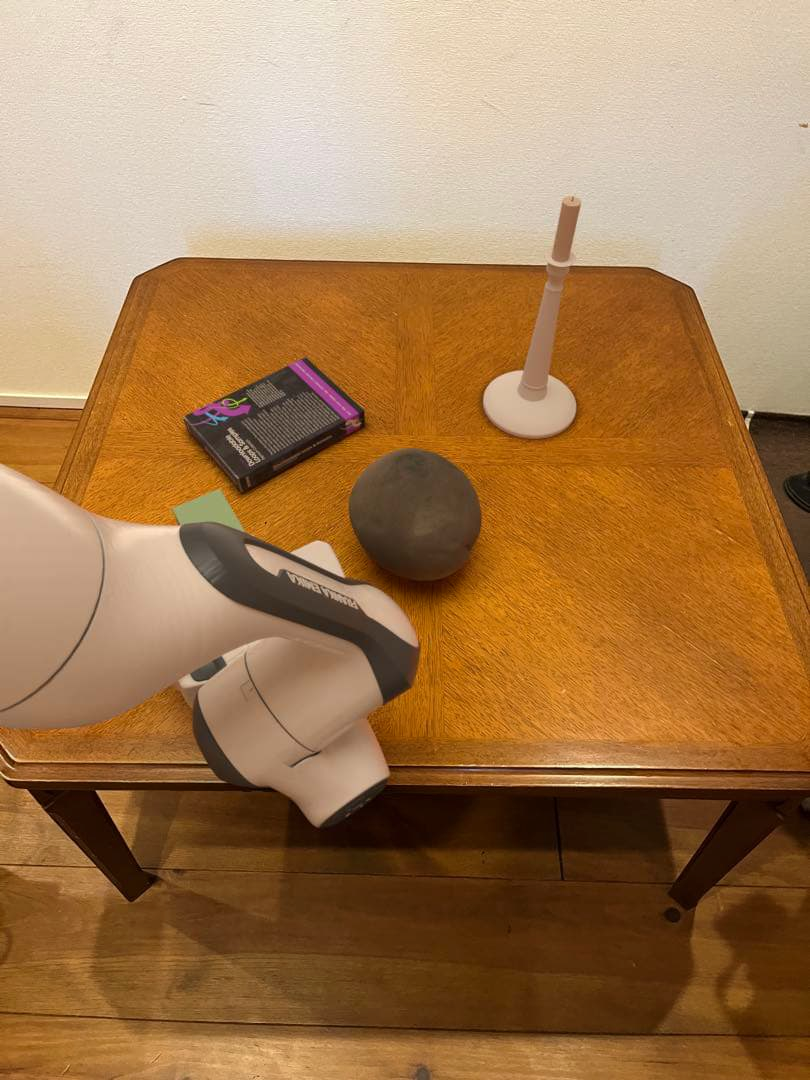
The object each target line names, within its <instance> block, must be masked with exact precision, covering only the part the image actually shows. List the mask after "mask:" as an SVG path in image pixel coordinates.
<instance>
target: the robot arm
mask: <svg viewBox="0 0 810 1080" xmlns="http://www.w3.org/2000/svg"><path fill="white" fill-rule="evenodd" d="M245 532H246V531H245ZM245 532H242V531H240V530H237V529H234V528H232V527H229V526H226V525H223V524H220V523H216V522H199V523H189V524H184V525H178V524H176V525H174V524H173V525H172V524H171V525H170V524H169V525H167V524H148V523H139V522H131V521H126V520H125V521H124V520H119V519H114V518H110V517H107V516H103V515H100V514H97V513H94V512H91V511H89V510H87V509H85V508H84V507H81V506H80V505H78V504H76V503H75V502H73V501H71V500H70V499H68V498H67V497H65V496H63V495H62V494H60V493H58V492H56V491H55V490H54V489H51V488H50V487H48V486H46V485H44V484H42V483H41V482H38V481H37V480H34V479H33V478H30V477H29V476H27V475H25V474H23V473H21V472H20V471H17V470H16V469H13V468H11V467H9V466H8V465H5V464H3V463H1V462H0V727H3V728H8V729H15V730H25V731H47V730H48V731H49V730H50V731H51V730H63V729H76V728H81V727H82V728H84V727H88V726H93V725H97V724H100V723H103V722H106V721H109V720H111V719H114V718H117V717H119V716H121V715H123V714H125V713H126V712H128V711H131V710H132V709H134V708H135V707H137V706H140V705H141V704H143V703H144V702H146V701H148V700H149V699H151V698H153V697H154V696H156V695H157V694H159V693H160V692H162V691H164V690H166V689H167V688H169V687H172V688H173V689H175V690H176V691H178V692H180V693H181V695H182V697H183V699H184V702H186V704H187V705H188V706H189V708H190V709H191V710H192V712H191V713H192V715H191V724H192V733H193V736H194V740H195V742H196V745H197V747H198V748H199V751H200V753H201V755H202V756H203V758H204V760H205V762H206V763H207V765H208V766H209V768H210V770H211V771H212V772H213V774H214V775H215V777H217V779H219V780H220V781H222V782H224V783H226V784H229V785H234V786H237V787H245V788H255V789H269V788H271V789H273V790H275V791H277V792H279V793H281V794H283V796H286V797H287V798H289V799H290V800H291V801H293V803H294V804H295V805H296V806H297V807H298V808H299V810H300V811H301V812H302V813H303V815H304V817H306V819H307V820H308V821H309V823H310V824H311V825H312V826H314V827H316V828H318V829H319V828H320V829H321V828H330V827H333V826H335V825H337V824H339V823H341V822H343V821H344V820H346V818H348V817H349V816H352V815H353V814H355V813H357V812H358V811H359V810H360V809H361V808H363V807H364V806H366V805H367V804H368V803H370V802H371V801H372V800H374V799H375V798H376V797H377V796H378V795H379V794H381V793H382V791H384V789H385V788H386V786H387V784H388V782H389V780H390V778H391V772H390V768H389V765H388V762H387V760H386V757H385V755H384V752H383V750H382V748H381V747H382V746H381V745H380V743H379V741H378V738H377V736H376V733H375V731H374V730H373V727H372V726H371V724H370V721H369V720H368V718H367V716H369V715H371V714H372V713H373V712H374V711H376V710H377V709H378V708H380V707H381V706H385V705H387V704H388V703H390V702H391V701H393V700H395V699H396V698H398V697H399V696H401V695H403V694H404V693H405V692H408V691H409V690H410V689H412V688H413V686H414V683H415V680H416V677H417V674H418V668H419V664H420V658H421V650H422V646H421V642H420V640H419V638H418V636H417V633H416V630H415V628H414V626H413V624H412V622H411V621H410V619H409V617H408V616H407V614H406V613H405V612H404V611H403V609H402V608H401V606H399V604H397V602H396V601H395V600H394V599H393V598H392V597H391V596H390V595H388V594H387V593H385V592H384V591H382V590H381V589H380V588H378V587H376V586H375V585H374V584H372V583H371V582H368V581H364V580H362V579H361V580H360V579H357V578H351V577H346V574H345V571H344V569H343V567H342V565H341V562H340V559H339V558H338V556H337V554H336V552H335V551H334V548H333V547H332V546H331V544H329V543H328V542H325V541H322V540H319V539H318V540H314V541H312V542H310V543H307V544H306V545H303V546H301V547H299V548H296V549H294V550H293V551H291V552H289V551H287V550H285V549H283V548H281V547H278V546H276V545H275V544H272V543H270V542H268V541H265V540H263V539H261V538H259V537H257V536H255V535H254V534H250V533H247V532H246V533H245Z"/></svg>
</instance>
